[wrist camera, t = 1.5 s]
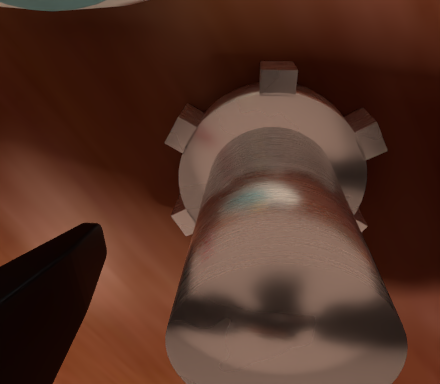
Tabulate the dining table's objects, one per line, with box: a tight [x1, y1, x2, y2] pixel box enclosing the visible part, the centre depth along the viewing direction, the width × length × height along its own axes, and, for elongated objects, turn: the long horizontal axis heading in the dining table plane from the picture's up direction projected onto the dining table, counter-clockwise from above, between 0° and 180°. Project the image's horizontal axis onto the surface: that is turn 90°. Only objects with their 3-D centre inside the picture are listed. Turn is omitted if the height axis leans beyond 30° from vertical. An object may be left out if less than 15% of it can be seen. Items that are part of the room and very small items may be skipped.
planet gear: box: [165, 61, 408, 384], centre depth 9 cm, size 7×7×8 cm
